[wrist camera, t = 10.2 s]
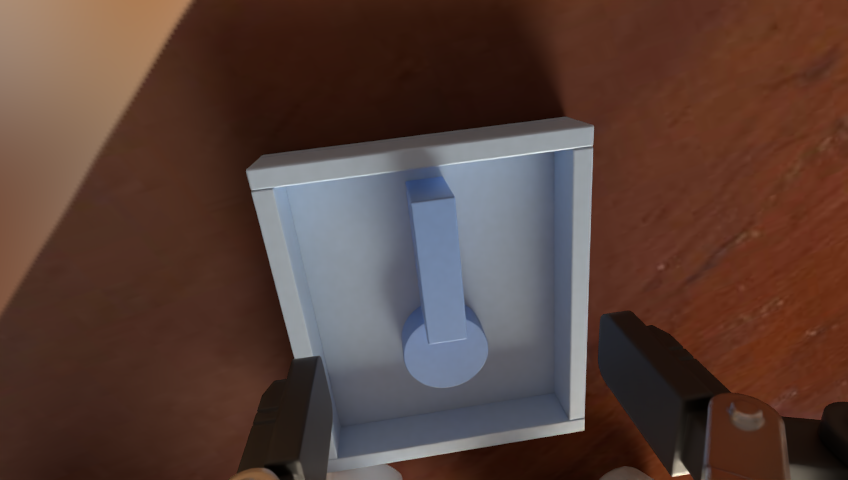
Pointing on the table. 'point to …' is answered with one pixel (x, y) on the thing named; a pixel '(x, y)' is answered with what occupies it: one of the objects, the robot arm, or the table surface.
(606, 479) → the ceramic mug
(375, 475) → the spoon rest
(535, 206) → the blue tray
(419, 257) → the blue spoon
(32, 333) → the table surface
